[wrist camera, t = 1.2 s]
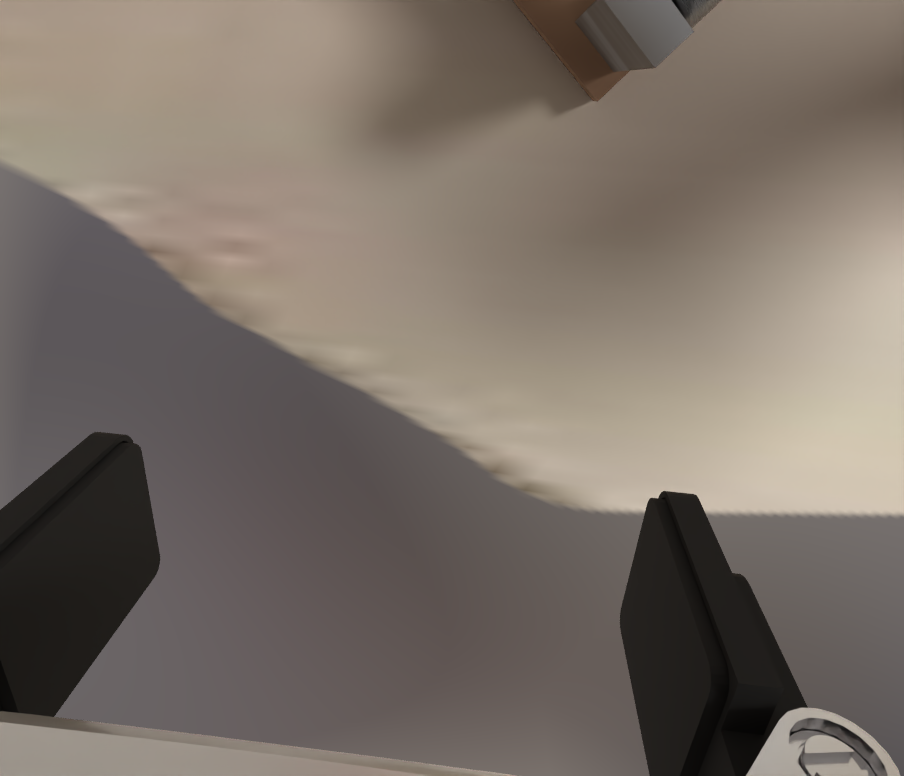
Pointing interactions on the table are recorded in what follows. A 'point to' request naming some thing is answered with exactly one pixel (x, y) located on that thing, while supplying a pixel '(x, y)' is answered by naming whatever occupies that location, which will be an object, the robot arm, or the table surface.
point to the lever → (694, 9)
